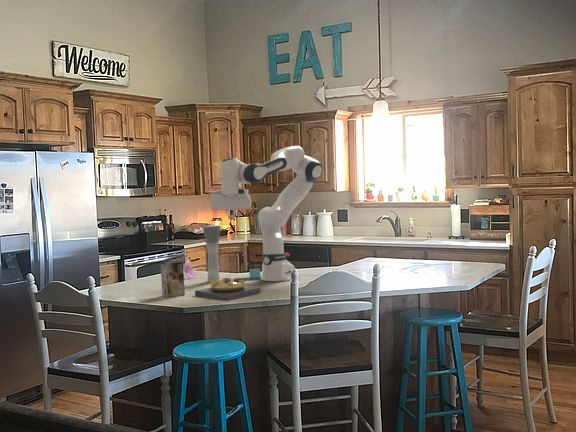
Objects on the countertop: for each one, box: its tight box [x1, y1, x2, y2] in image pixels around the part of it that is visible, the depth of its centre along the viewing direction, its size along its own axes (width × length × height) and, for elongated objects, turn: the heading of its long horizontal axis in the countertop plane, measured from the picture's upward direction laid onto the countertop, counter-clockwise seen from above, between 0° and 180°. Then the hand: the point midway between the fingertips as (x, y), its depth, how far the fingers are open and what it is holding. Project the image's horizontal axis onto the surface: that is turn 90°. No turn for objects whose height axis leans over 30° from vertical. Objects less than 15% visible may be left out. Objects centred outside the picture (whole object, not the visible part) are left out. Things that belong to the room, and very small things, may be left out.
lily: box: [183, 259, 197, 280], centre depth 366 cm, size 12×12×10 cm
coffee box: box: [160, 260, 186, 298], centre depth 312 cm, size 9×6×16 cm
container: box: [202, 224, 222, 284], centre depth 350 cm, size 10×10×30 cm
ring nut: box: [210, 268, 262, 291], centre depth 311 cm, size 24×16×8 cm
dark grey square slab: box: [194, 285, 262, 301], centre depth 310 cm, size 22×22×3 cm
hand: (231, 218), depth 322 cm, fingers closed
